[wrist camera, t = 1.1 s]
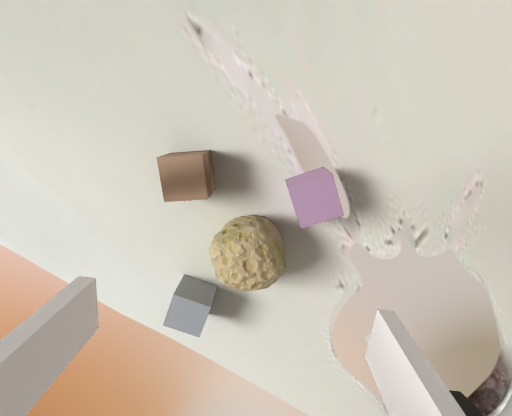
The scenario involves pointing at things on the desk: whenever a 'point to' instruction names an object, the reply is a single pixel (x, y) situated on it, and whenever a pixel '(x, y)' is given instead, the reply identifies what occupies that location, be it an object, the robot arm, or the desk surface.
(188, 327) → the slate cube
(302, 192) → the plum cube
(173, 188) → the walnut cube
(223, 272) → the decorative object
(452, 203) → the desk surface
